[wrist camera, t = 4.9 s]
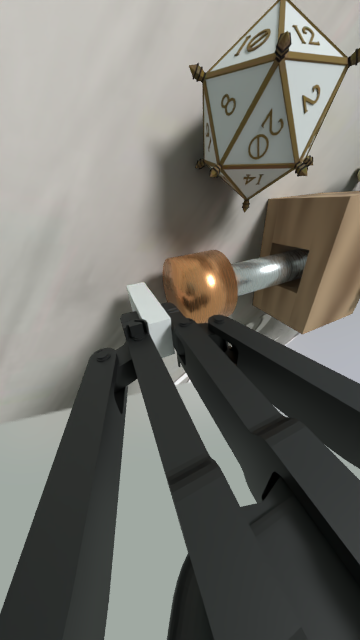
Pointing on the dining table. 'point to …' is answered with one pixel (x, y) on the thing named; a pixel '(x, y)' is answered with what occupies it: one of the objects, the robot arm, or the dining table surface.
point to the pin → (224, 280)
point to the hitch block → (314, 258)
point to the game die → (269, 100)
